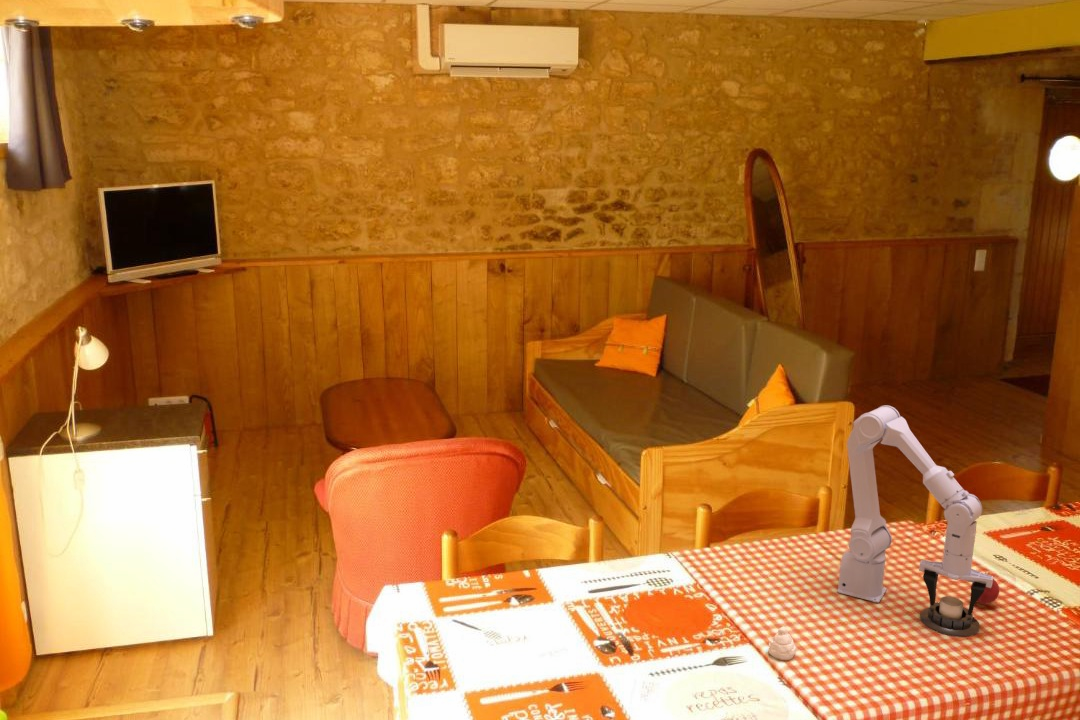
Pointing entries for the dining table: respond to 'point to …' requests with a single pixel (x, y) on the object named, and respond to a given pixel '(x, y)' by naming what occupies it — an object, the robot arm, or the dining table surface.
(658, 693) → the dining table surface
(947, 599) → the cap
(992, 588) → the onion
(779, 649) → the swirled meringue
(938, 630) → the ridged round lid
